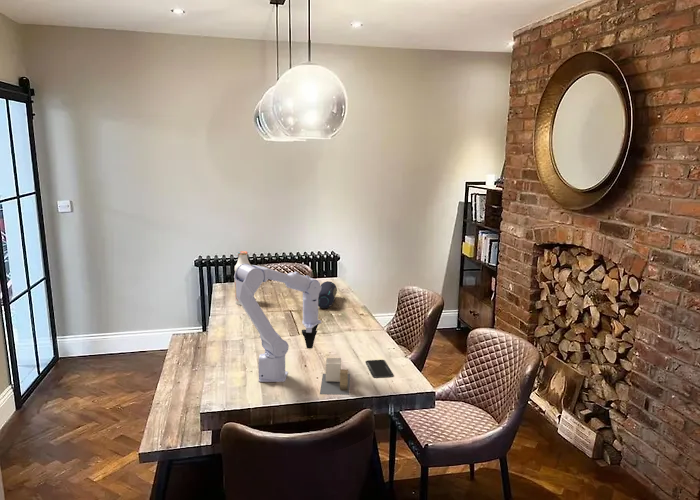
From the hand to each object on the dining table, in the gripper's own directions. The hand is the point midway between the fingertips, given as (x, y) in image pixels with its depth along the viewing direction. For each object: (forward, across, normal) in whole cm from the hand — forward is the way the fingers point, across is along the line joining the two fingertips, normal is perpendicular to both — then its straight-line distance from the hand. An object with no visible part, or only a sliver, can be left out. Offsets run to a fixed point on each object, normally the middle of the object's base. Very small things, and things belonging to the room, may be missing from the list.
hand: (310, 344), depth 189 cm
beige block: (+9, -10, -9) cm, 16 cm away
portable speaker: (+10, +83, -1) cm, 84 cm away
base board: (+9, -14, -10) cm, 20 cm away
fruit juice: (+10, +81, +43) cm, 92 cm away
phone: (+10, -1, -26) cm, 28 cm away
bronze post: (+9, -18, -13) cm, 24 cm away
